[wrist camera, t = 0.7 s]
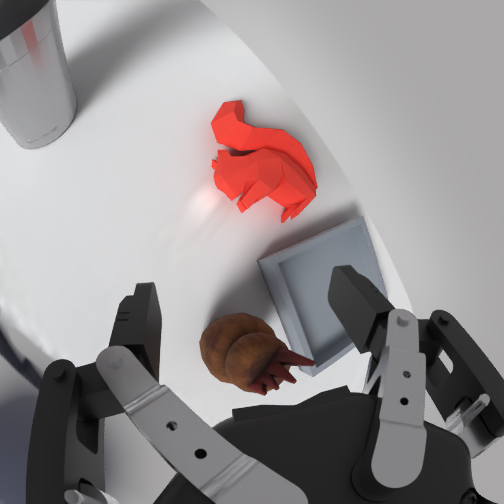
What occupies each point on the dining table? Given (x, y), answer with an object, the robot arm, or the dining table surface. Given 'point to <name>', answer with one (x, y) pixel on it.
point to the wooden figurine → (248, 354)
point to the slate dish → (318, 289)
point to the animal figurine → (261, 163)
